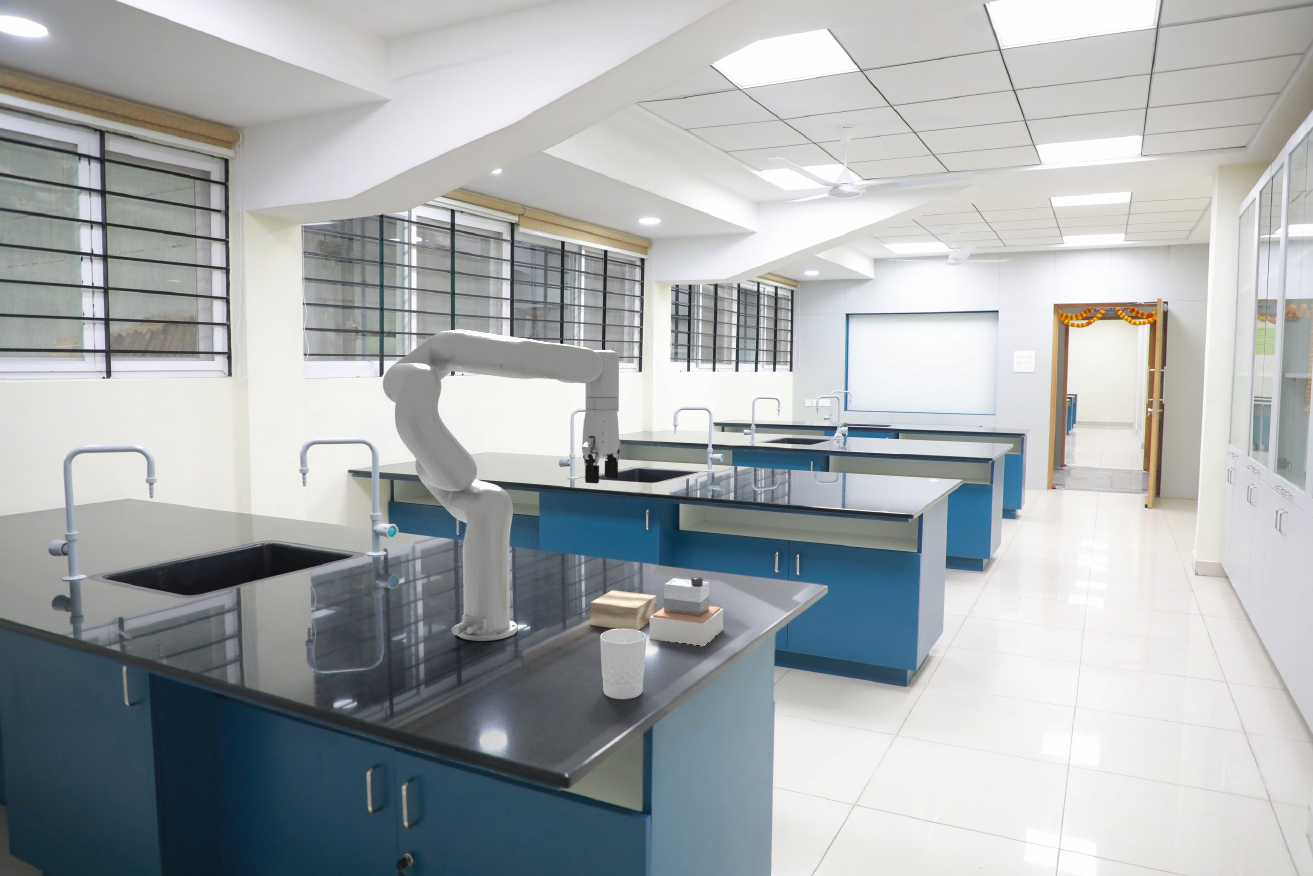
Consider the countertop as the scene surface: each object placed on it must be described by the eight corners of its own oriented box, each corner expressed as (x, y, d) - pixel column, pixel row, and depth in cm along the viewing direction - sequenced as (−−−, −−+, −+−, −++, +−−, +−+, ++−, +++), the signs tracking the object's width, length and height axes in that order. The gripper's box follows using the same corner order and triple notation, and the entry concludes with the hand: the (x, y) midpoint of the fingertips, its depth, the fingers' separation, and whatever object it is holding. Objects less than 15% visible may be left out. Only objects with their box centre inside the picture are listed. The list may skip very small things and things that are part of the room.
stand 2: (704, 646, 168) (704, 622, 168) (649, 639, 173) (649, 615, 172) (722, 629, 179) (723, 607, 179) (670, 622, 184) (671, 600, 183)
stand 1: (636, 631, 177) (636, 608, 177) (590, 624, 182) (590, 602, 181) (656, 617, 188) (656, 595, 187) (612, 611, 192) (612, 590, 191)
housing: (664, 612, 174) (664, 578, 174) (673, 605, 179) (674, 572, 179) (700, 616, 171) (700, 582, 171) (708, 609, 176) (709, 576, 176)
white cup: (621, 680, 150) (621, 625, 149) (655, 691, 145) (655, 634, 144) (590, 693, 144) (590, 636, 143) (624, 705, 139) (625, 646, 138)
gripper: (604, 403, 198) (604, 475, 199) (569, 406, 182) (569, 484, 183) (633, 404, 195) (632, 476, 196) (599, 407, 179) (599, 486, 180)
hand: (601, 480), depth 190 cm, fingers open, 9 cm apart
